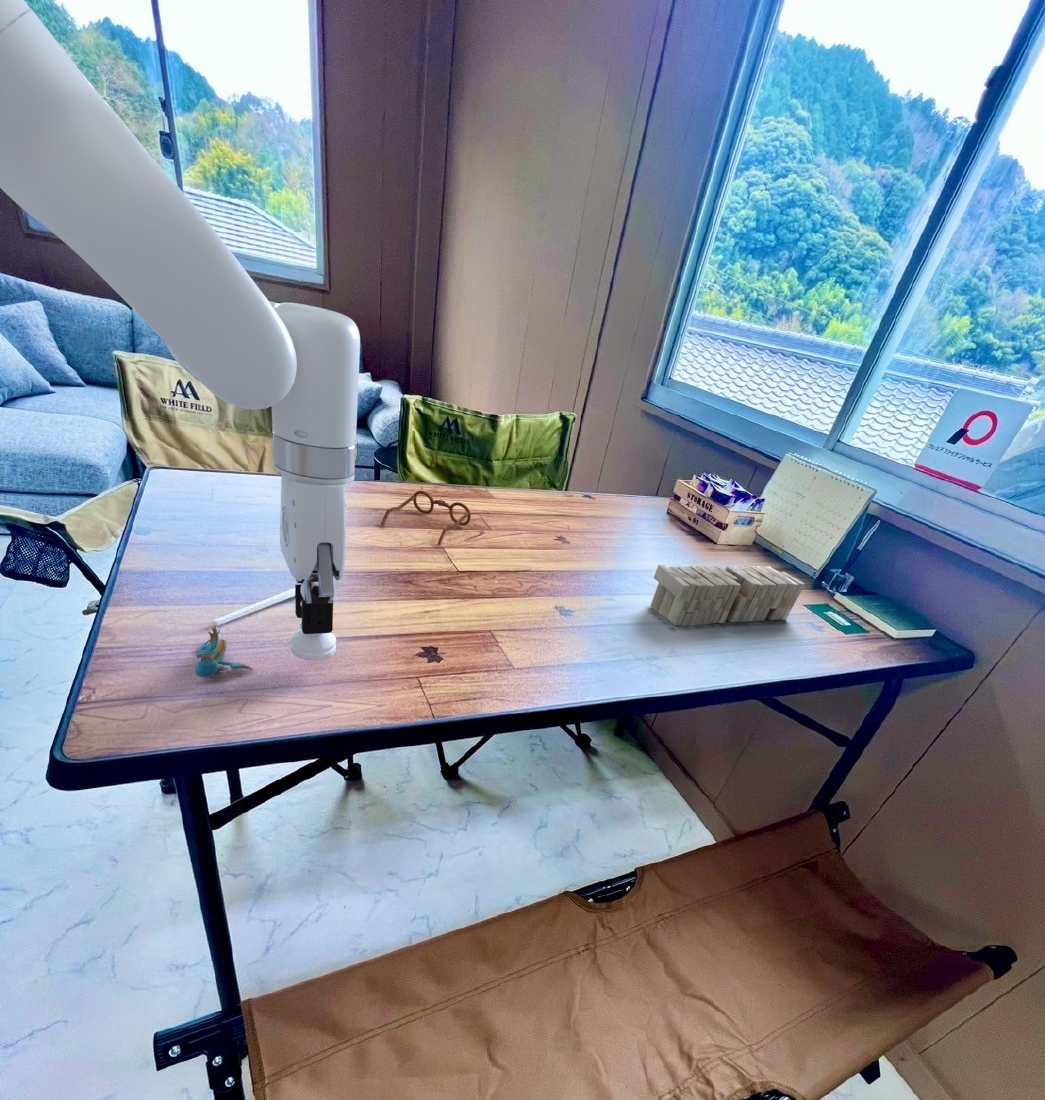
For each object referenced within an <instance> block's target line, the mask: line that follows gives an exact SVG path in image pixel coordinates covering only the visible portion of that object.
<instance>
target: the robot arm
mask: <svg viewBox="0 0 1045 1100" xmlns="http://www.w3.org/2000/svg"><path fill="white" fill-rule="evenodd" d="M0 189H1V190H2V191H3V192H4V193H5V194H6V195H7V196H8V197H9V198H10V199H11V200H12V201H14V203H15V204H17V205H18V206H19V207H20V208H21V209H22V210H23V211H24V212H26V213H28V214H29V216H30V217H32V218H34V219H35V220H36V221H37V222H39V223H40V224H41V225H42V226H44V228H46V229H47V230H49V231H50V232H51V233H53V234H54V235H55V236H56V237H58V239H60V240H61V241H62V242H63V243H64V244H66V246H68V247H69V248H70V249H71V250H72V251H73V252H75V253H76V254H77V255H78V256H79V257H80V258H81V259H82V260H83V261H84V262H85V263H86V264H88V266H89V267H90V268H91V269H92V270H93V271H94V272H95V273H96V274H97V275H99V276H100V278H102V280H104V282H106V283H107V285H108V286H110V287H111V289H113V291H115V292H116V293H117V294H118V296H120V298H121V299H122V300H123V301H124V302H125V303H126V304H128V305H129V307H131V308H132V310H134V312H135V313H136V314H137V315H138V316H139V317H140V318H141V319H142V320H143V321H144V322H145V323H146V324H147V325H148V326H149V327H150V328H151V329H152V330H153V331H154V332H155V333H156V334H157V335H158V337H160V339H161V340H162V341H163V342H164V344H165V347H166V348H167V350H168V352H169V353H170V355H171V356H172V357H173V359H174V360H175V361H176V363H177V364H178V365H179V366H180V367H181V368H182V369H183V370H184V371H186V372H187V373H188V374H190V376H191V377H192V378H194V379H195V380H196V381H197V382H199V383H201V385H203V386H204V387H205V388H206V389H207V390H208V391H210V392H211V393H212V394H213V395H214V396H215V397H217V398H218V399H220V400H221V401H222V402H225V403H226V404H228V405H230V406H233V407H236V408H239V409H244V410H255V411H256V410H264V409H268V408H270V407H271V425H272V426H271V427H272V429H271V430H272V462H273V464H272V465H273V466H272V468H273V471H274V472H275V473H277V474H279V475H280V476H281V481H280V525H279V544H280V546H279V547H280V551H281V553H282V556H283V558H284V561H285V563H286V565H287V568H288V570H289V572H290V574H291V576H292V577H293V578H294V579H295V582H296V584H294V585H295V586H294V588H295V596H294V602H295V603H294V604H295V605H294V606H295V607H294V609H295V617H296V618H297V619H301V622H302V631H303V633H304V634H321V633H332V632H333V630H334V629H333V627H334V626H333V624H334V597H335V590H334V589H335V588H334V581H333V577H334V578H335V579H334V580H335V581H340V580H341V579H342V578H343V577H344V573H345V563H346V535H347V534H346V531H347V530H346V528H347V527H346V526H347V525H346V522H347V521H346V520H347V519H346V516H347V515H346V507H347V504H346V484H349V483H352V482H353V481H354V480H355V474H356V454H357V453H356V451H357V425H358V423H357V422H358V402H359V401H358V400H359V381H360V380H359V379H360V358H361V335H360V331H359V327H358V325H357V324H356V322H355V321H354V320H353V319H352V318H351V317H349V316H347V315H345V314H343V313H341V312H338V311H334V310H330V309H327V308H322V307H318V306H314V305H308V304H305V303H304V304H303V303H297V302H280V303H278V302H275V301H269V300H268V298H267V297H266V296H265V294H264V293H263V292H262V290H261V289H260V288H259V286H258V285H257V283H256V282H255V281H254V280H253V279H252V277H251V276H250V275H249V273H248V272H247V271H246V269H245V267H244V266H243V265H242V263H240V261H239V260H238V259H237V257H236V256H235V255H234V254H233V252H232V251H231V250H230V249H229V247H228V246H227V244H226V243H225V242H224V240H223V239H222V238H221V236H220V235H219V234H218V233H217V232H216V231H215V229H214V228H213V227H212V225H211V224H210V223H209V221H207V219H206V217H204V216H203V214H202V213H201V211H199V210H198V208H197V207H196V206H195V205H194V204H193V202H192V201H191V200H190V199H189V197H187V196H186V194H185V193H184V191H183V190H181V188H180V187H179V186H178V185H177V184H176V183H175V181H174V180H173V179H172V178H171V177H170V176H169V174H168V173H167V172H166V171H165V170H164V169H163V168H162V167H161V166H160V164H159V163H158V162H157V161H156V160H155V158H154V157H153V156H152V155H151V154H150V153H149V152H148V150H147V149H146V148H145V147H144V145H142V143H141V142H140V141H139V139H138V138H137V137H136V135H135V134H134V133H133V132H132V131H131V129H130V127H128V125H127V124H126V123H125V121H123V119H122V118H121V117H120V116H119V115H118V114H117V112H116V111H115V110H114V109H113V108H112V107H111V106H110V105H109V104H108V103H107V101H106V100H105V99H104V98H103V97H102V96H101V94H100V93H99V92H98V91H97V90H96V88H95V87H94V86H93V85H92V84H91V83H90V82H89V80H88V79H87V78H86V77H85V75H84V74H83V72H82V71H81V70H80V68H79V67H78V66H77V65H76V64H75V62H74V61H73V60H72V59H71V57H70V56H69V55H68V54H67V52H66V51H65V50H64V49H63V47H62V46H61V45H60V43H59V42H58V41H57V40H56V39H55V37H54V35H52V33H51V32H50V30H49V29H48V28H47V27H46V25H45V24H44V23H43V22H42V20H41V19H40V18H39V17H38V15H37V14H36V13H35V11H34V10H33V9H32V8H31V7H30V6H29V5H28V4H27V2H26V1H25V0H0ZM303 582H304V591H305V600H303V599H304V598H303V597H302V595H301V585H302V583H303ZM312 582H318V585H317V586H313V588H312ZM301 601H302V606H301V605H300V603H301Z"/></svg>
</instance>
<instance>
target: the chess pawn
mask: <svg viewBox="0 0 1045 1100" xmlns="http://www.w3.org/2000/svg"><path fill="white" fill-rule="evenodd" d="M317 585H318V582H312V588H313V586H317ZM301 595H302V597H303V598H304V599H303V600H305V591H304V582H303V583H302V585H301ZM300 605H301V606H302V601H301V603H300ZM299 627H300V628H298V629H297V630H295V631H294V632H293V633H292V634H291V636H290V650H291V652H292V654H293V655H294V656H295V657H297V658H299V659H301V660H305V661H310V662H311V661H312V662H316V661H323V660H328V659H330V658H331V657H333V656H334V655H335V654H336V652H337V644H336V643H337V638H336V635H334V633H332V632H331V633H321V634H304V633H303V631H302V621H301V622H300V624H299Z"/></svg>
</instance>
